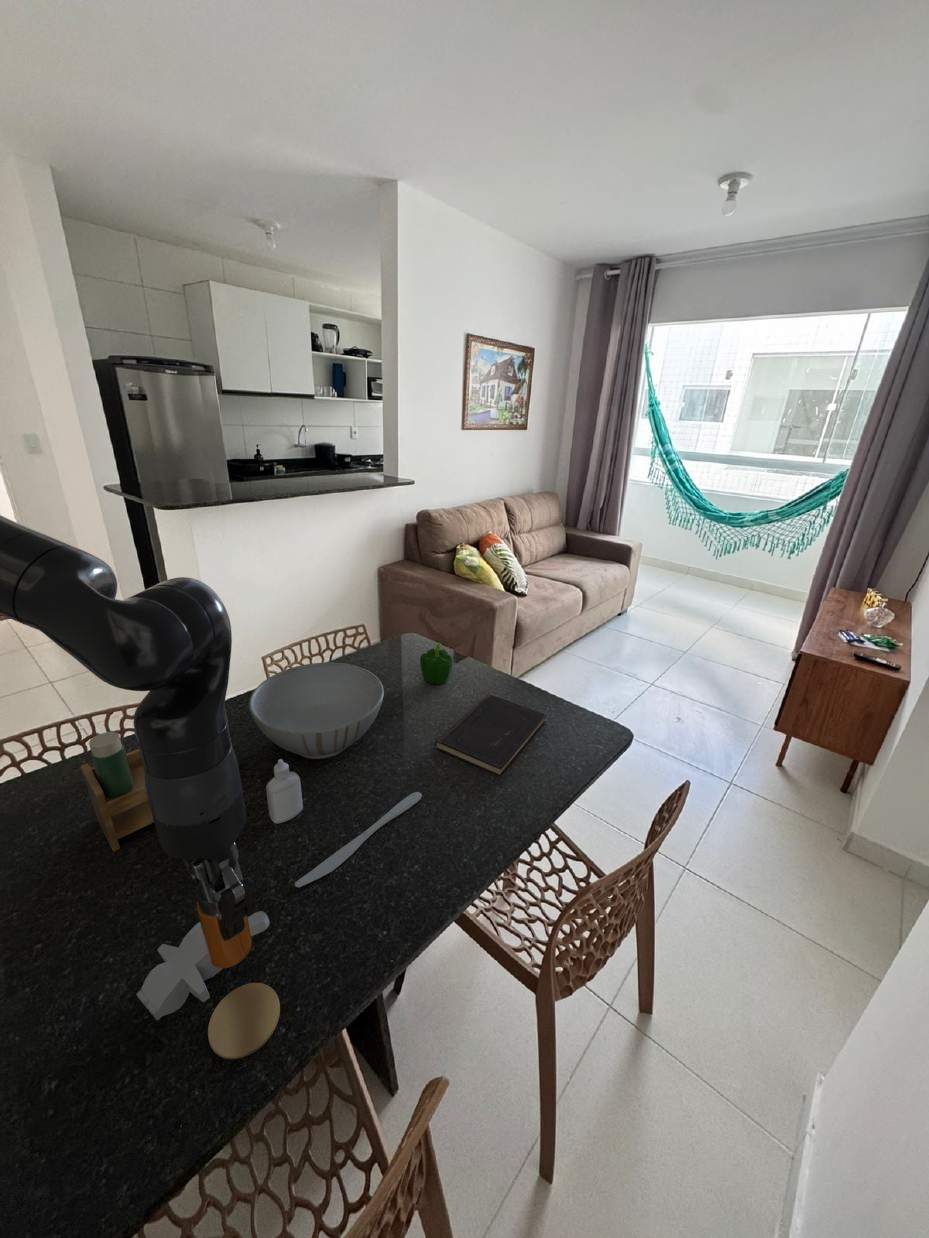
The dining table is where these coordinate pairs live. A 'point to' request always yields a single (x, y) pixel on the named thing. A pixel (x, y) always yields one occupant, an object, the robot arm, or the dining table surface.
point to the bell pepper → (436, 665)
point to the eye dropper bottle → (284, 794)
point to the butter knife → (357, 842)
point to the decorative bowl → (317, 707)
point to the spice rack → (120, 803)
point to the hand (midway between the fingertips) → (223, 916)
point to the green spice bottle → (111, 764)
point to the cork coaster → (244, 1021)
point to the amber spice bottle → (217, 948)
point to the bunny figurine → (185, 971)
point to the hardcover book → (492, 734)
